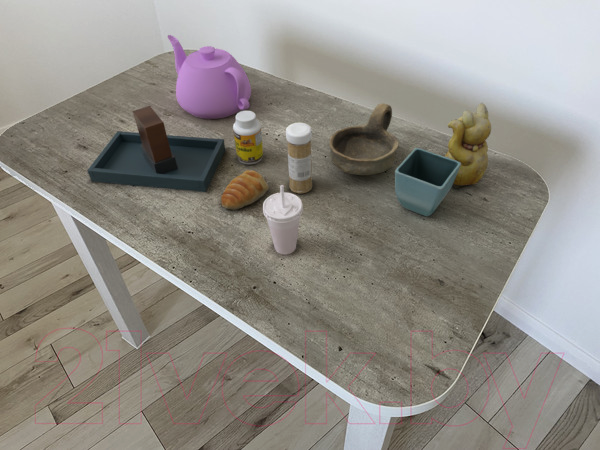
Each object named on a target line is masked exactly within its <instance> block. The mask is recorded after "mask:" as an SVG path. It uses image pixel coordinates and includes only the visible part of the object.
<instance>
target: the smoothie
mask: <svg viewBox="0 0 600 450" xmlns="http://www.w3.org/2000/svg"><path fill="white" fill-rule="evenodd" d="M303 211H304V206H303V201H302V199H301V198H300V197H299V196H297V195H296V194H295V193H293V192H292V193H291V192H285V186H284V184H280V185H279V192H276V193H273V194H270V195H269V196H268V197H267V198H265V200H264V201H263V203H262V213H263V215H264V217H265V218H266V222H267V225H268V228H269V232H270V235H271V239H272V244H273V247H274V250H275V251H276V253H278V254H280V255H285V256H286V255H290V254H292V253H294V252H295V251H296V249H297V243H298V234H299V227H300V220H301V216H302V214H303Z"/></svg>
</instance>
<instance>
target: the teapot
mask: <svg viewBox="0 0 600 450" xmlns="http://www.w3.org/2000/svg"><path fill="white" fill-rule="evenodd" d="M167 40H168V41H169V42H170V44H171V46H172V49H173V53H174V65H175V71H176V74H177V78H176V82H175V96H176V101H177V103H178V105H179V106H180V107H181V108H182V110H184V111H185V112H187V113H188V114H190V115H192V117H196V118H198V119H204V120H217V119H223V118H227V117H230V116H232V115H235V114H237V113H239V112H240V111H247V110H248V109H249V108H250V101H249V100H250V98H251V95H252V88H251V83H250V80H249V77H248V75H247V73H246V71H245V69H244V68H243V67H242V65H241V63H239V62H238V60H237V59H236V58H235V57H234V56H233V55H232V53H230V52H229V51H227V50H224V49H221V48H215V47H214V46H211V45H205V46H202V47H199V49H198V50H196V51H194V52H191V53H190V54H188V55H187V54H186V52H185V50H184V48H183V46H182V44H181V42H180V41H179V40H178V38H177V37H175V36H174V35H172V34H168V35H167Z"/></svg>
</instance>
